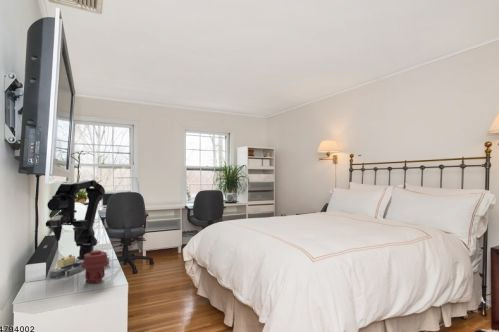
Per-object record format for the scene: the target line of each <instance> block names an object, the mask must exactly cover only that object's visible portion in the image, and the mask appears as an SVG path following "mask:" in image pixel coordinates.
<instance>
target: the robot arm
mask: <svg viewBox="0 0 499 332" xmlns="http://www.w3.org/2000/svg"><path fill="white" fill-rule="evenodd" d="M82 190H84V192H86V193H87V194H86V196H87V199H88V204H87V207H86V211H85V216H84V219H78V220H77V218H75V215H76V213H77V210H76V208H75V207H76V200H77V199H78V196H77V194H78V193H80V191H82ZM105 194H106V189H105V188H104V187H103V185H102V184H100V183H98V182H97V181H96V180H95V179H85V180H81V181H80V180H79V181H76V182H61V183H60V184H59V186H58V188H57V189H56V191H55V193H54V195H52V197H51V198H50V199H49V200H48V202H47V204H46V205H47V209H48V210H49V211H52V212H57V211H58V213H57V215H55V216H53V217H52V218H50V219H49V220H46V222H45V227H47V229H50V230H51V231H52V232H53V234H54V237H55V239H56V240H55V241H57V242H60V240H61V235H62V229H63V226H73V227H72V231H73V235H74V236H73V241H74V242H75V245H76V247H79V251H78V255H79V256H77V257H76V259H82V260H84V255H85V254H87V253H90V252H91V251H94V247H95V246H96V245H97V244H98V239H97V238H96V237H95V235H96V234H95V230H94V228H93V227H94V223H95V219H96V214H97V212H98V211H97V210H98V208H99V203H100V202H101V201H102V200H103V199H104V196H105Z"/></svg>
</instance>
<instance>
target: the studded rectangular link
mask: <svg viewBox="0 0 499 332" xmlns="http://www.w3.org/2000/svg"><path fill="white" fill-rule="evenodd" d="M82 262H84V259H82V260H78V261H75V262H74V263H73V265H72V264H67V265H64V266H62V267H59V268H53V269H52V270H50V271H49V278H54V279H60V278H61V277H62V278H63V277H65V276H68V275H69V276H72V275H74V274H76V273H79V272H81V271H84V270H85V269H84V268H82V267H81V264H82Z"/></svg>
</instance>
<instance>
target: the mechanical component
mask: <svg viewBox="0 0 499 332" xmlns="http://www.w3.org/2000/svg"><path fill="white" fill-rule="evenodd" d="M107 255H108V254H107V251H102V250H100V249H95V250H93V251H91V252H90V253H87V254H85V255H84V259H83V261H84V262H82V264H81V267H82V268H84V270H85V274H84V275H85V276H84V277H85V283H91V284H92V283H93V284H100V281H101V280H102V279H103V278H104V277H105V269H106V268H105V267H108V266H107V265H108V264H109V265H110V259H109V260H108V259H107Z"/></svg>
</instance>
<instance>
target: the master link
mask: <svg viewBox="0 0 499 332" xmlns="http://www.w3.org/2000/svg"><path fill="white" fill-rule="evenodd" d="M56 261H57V262H56V264H57V267H58V268H59V267H62V266H64V265H67V264H72V266H73V263H74V262H76V256H75V255H73V254H69V255H67V256H61V258H59V259H57V260H56Z"/></svg>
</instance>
